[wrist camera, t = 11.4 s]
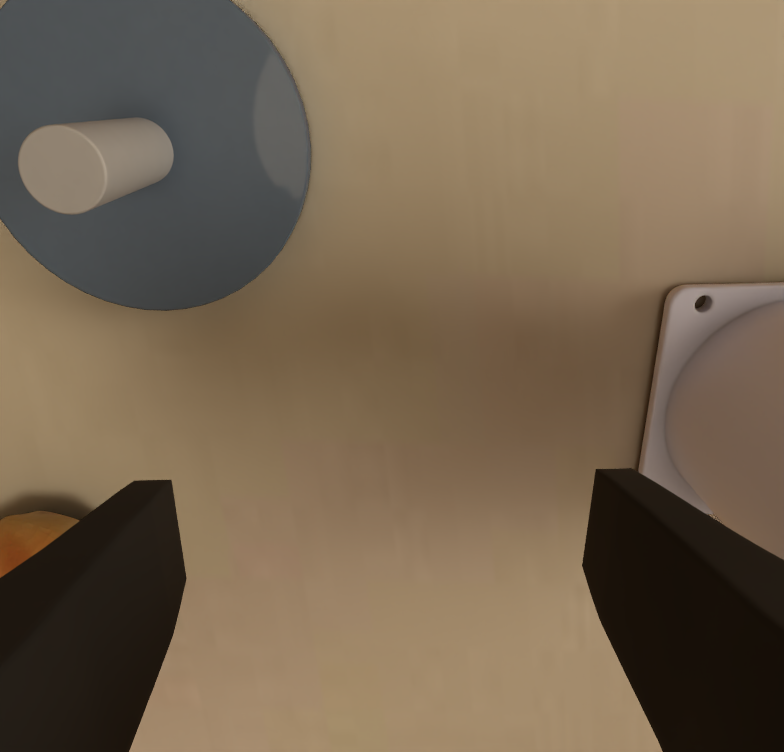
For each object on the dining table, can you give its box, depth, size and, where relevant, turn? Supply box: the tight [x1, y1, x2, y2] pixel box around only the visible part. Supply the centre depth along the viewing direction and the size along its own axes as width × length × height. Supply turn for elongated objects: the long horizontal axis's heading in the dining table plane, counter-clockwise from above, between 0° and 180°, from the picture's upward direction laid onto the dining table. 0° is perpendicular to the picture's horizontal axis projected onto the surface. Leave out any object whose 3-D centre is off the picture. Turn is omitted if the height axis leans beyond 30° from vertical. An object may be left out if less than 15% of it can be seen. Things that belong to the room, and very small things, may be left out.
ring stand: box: [0, 0, 311, 311], centre depth 15 cm, size 8×8×6 cm
